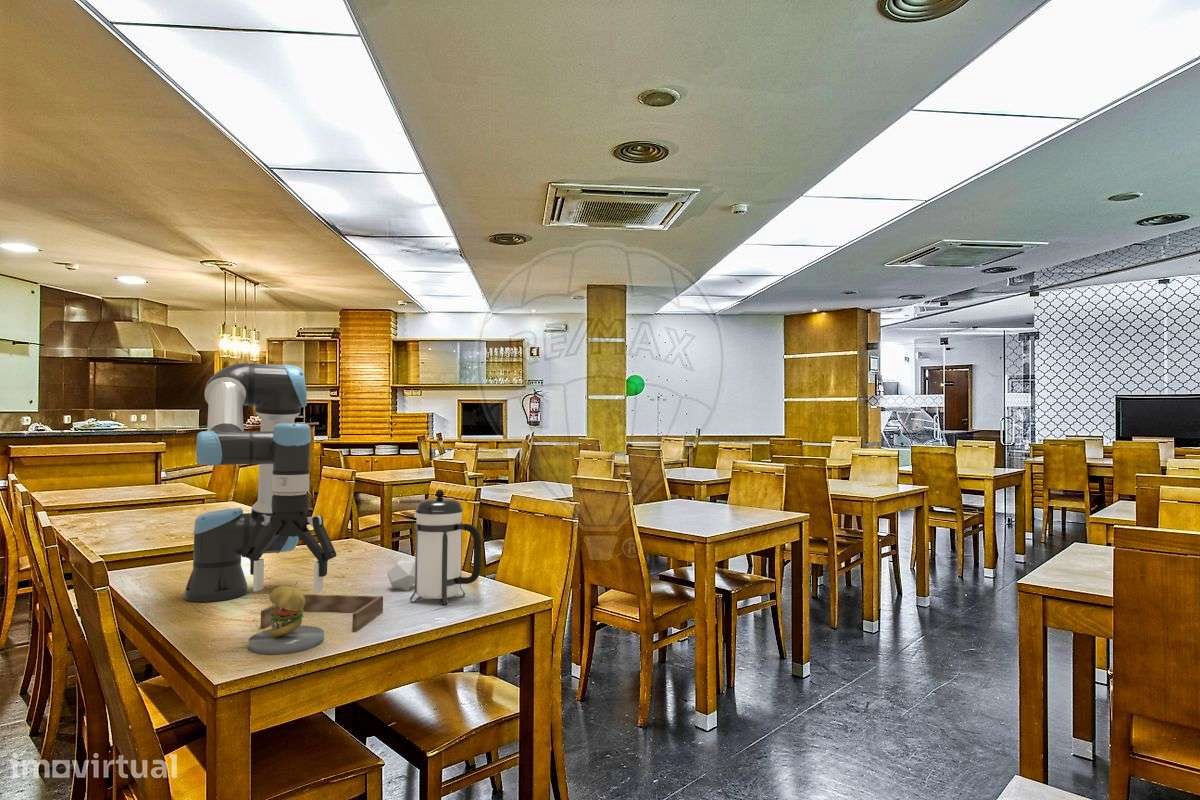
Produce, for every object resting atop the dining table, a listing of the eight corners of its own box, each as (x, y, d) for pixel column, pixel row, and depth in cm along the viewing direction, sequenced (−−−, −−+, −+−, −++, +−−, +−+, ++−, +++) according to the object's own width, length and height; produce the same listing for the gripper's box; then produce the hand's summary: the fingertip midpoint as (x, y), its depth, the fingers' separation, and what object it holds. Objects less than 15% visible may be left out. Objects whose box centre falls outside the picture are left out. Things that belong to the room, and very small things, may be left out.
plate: (233, 653, 142) (233, 645, 142) (272, 631, 157) (272, 624, 157) (303, 655, 141) (303, 648, 141) (335, 633, 156) (335, 626, 156)
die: (425, 589, 200) (417, 559, 205) (415, 580, 193) (408, 550, 198) (398, 600, 199) (391, 570, 204) (387, 591, 192) (381, 560, 197)
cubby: (260, 628, 159) (260, 610, 159) (295, 609, 175) (295, 593, 175) (356, 631, 158) (356, 613, 158) (382, 612, 173) (383, 596, 174)
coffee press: (414, 610, 175) (416, 493, 176) (406, 595, 190) (408, 487, 191) (480, 603, 182) (482, 491, 183) (467, 590, 197) (469, 486, 198)
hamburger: (275, 630, 152) (277, 576, 153) (309, 630, 153) (310, 576, 153) (262, 641, 145) (263, 584, 145) (297, 641, 145) (298, 584, 146)
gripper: (225, 494, 147) (222, 593, 146) (338, 496, 145) (335, 596, 145) (245, 490, 154) (243, 584, 154) (353, 492, 153) (351, 587, 152)
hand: (288, 590), depth 149 cm, fingers open, 13 cm apart
